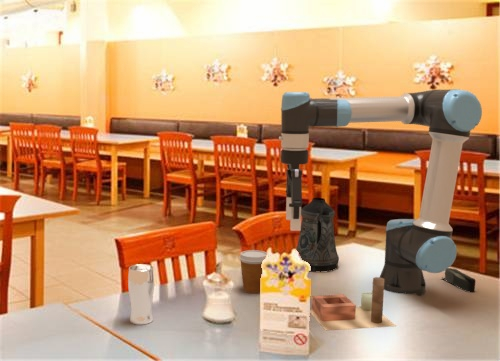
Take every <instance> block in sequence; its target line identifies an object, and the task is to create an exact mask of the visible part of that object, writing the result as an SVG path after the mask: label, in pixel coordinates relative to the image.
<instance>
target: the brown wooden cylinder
mask: <svg viewBox="0 0 500 361" xmlns="http://www.w3.org/2000/svg"><path fill="white" fill-rule="evenodd" d="M371 293H372V310H371V322H373V323H382V314H383V310H384V294H385V290H384V279H383V278H380V276H379V277H377V276H376V277H373V278H372V292H371ZM383 315H384V314H383Z"/></svg>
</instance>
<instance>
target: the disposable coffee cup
mask: <svg viewBox="0 0 500 361" xmlns="http://www.w3.org/2000/svg"><path fill="white" fill-rule="evenodd" d="M267 253H268V252H266V251H263V250H257V249H251V250H250V249H249V250H244V251H241V252H240V255H239V257H238V259H239V261H240V267H241V268H240V269H241V276H242V278H241V280H242V286H243V287H242V288H243V291H244V292H245V293H248V294H260V278H261V274H262V268H261V264H262V261H263V260H264V259H265V257H266V255H267Z"/></svg>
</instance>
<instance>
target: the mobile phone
mask: <svg viewBox="0 0 500 361" xmlns="http://www.w3.org/2000/svg"><path fill="white" fill-rule="evenodd" d="M441 278H442V279H441V280H443V279H444V280H443V281H445V280H447V281H448V282H447V281H446V282H447V283H449V282H450V283H449V284H451V283H452V284H451V285H453V284H454V285H453V286H455V285H456V286H455V287H457V286H458V287H460V288H462V289H464V290H466V291H465V292H467V291H470V292H469V293H474V292H475V291H476V289H475V288H476V279H475V278H473V277H471V276H470V275H468V274H465V273H463V272H462V271H460V270H458V269H457V268H451V267H449V268H447V269H446V270H445V272H444V277H441ZM458 287H457V288H458ZM460 288H459V289H460ZM462 289H461V290H462ZM464 290H463V291H464Z"/></svg>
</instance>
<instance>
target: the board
mask: <svg viewBox="0 0 500 361" xmlns="http://www.w3.org/2000/svg"><path fill="white" fill-rule="evenodd" d="M311 304H312V305H311V306H312V307H311V308H309V309H310V312H309V313H310V314H311V316H312V317H313V318H314V319H315V320H316V321H317V322H318V323H319V325H320V326H321V327H322V328H323V329H324V331H338V330H340V331H341V330H342V331H343V330H355V329H369V328H370V329H371V328H386V327H396V326H397V325H396V324H395V323H394V322H393V321H391V320H390V319H389V318H387V317H386V316H385V315H384V314H382V323H373V322H371V311H366V310H363V309H361V305H360V306H357V304H355V303H354V302H353V301H352V300H351V299H349V298H348V297H347V296H346V295H345V294H329V295H326V294H325V295H312V300H311Z"/></svg>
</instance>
